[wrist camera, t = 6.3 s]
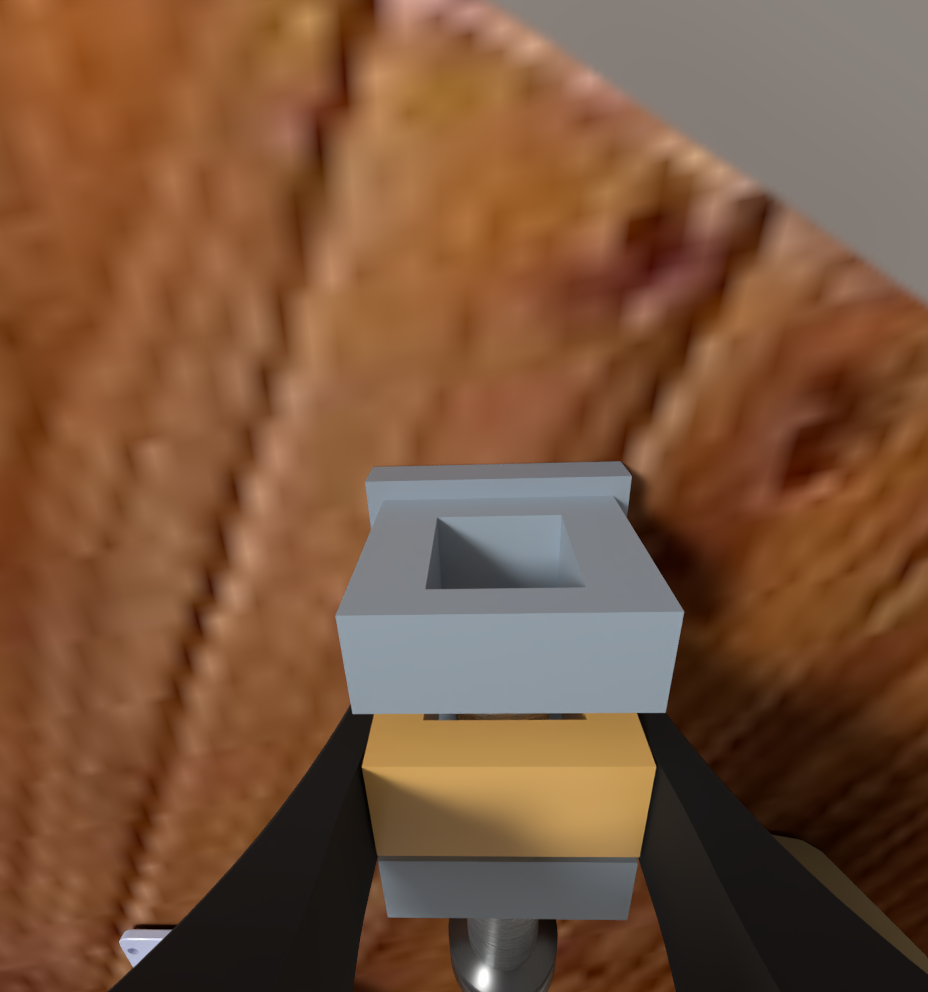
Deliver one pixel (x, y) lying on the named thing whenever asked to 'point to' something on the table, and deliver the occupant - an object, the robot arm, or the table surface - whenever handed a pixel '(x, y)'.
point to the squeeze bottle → (852, 897)
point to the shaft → (503, 936)
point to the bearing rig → (506, 645)
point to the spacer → (508, 786)
